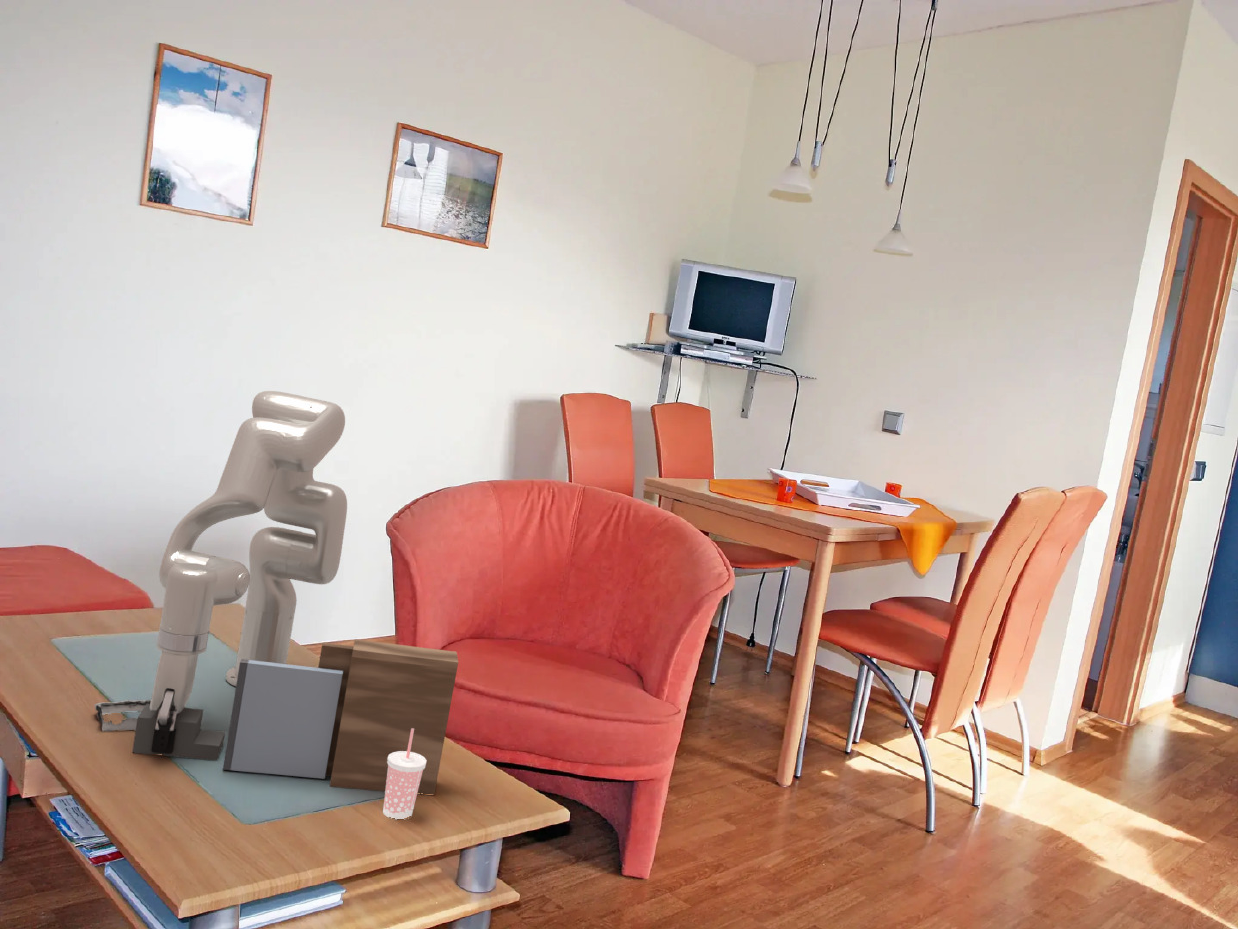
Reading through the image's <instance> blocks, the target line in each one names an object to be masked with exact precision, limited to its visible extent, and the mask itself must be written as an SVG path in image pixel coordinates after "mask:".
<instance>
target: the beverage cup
mask: <svg viewBox="0 0 1238 929" xmlns="http://www.w3.org/2000/svg"><path fill="white" fill-rule="evenodd" d="M413 733H414V728H411V733H410V738H409V744H408V749H407V751H397V752H393V753H391V754H389V756H388V758H387V760H388V761H387V763H388V772H387V780H386V789H385V791H384V798H383V810H382V813H383V815H384V816H386V817H387V818H389V817H391V818H390V819H392V818H395V819H394V820H397V819H404V818H407V817H409V816H411V817H412V816H413V812H414V808H415V803H416V799H417V796H418V794H417V792H418V788H419V784H420V780H421V776H422V772H423V769H425V766H426V762H427V760H426V759H425V757H423V756H422V755H420V754H417V753H414V752H410V750H411V744H412V739H413ZM404 820H405V819H404Z"/></svg>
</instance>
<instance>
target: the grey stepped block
mask: <svg viewBox="0 0 1238 929" xmlns="http://www.w3.org/2000/svg"><path fill="white" fill-rule="evenodd" d="M175 708H176V707H171V709H170V711H175ZM159 709H160V706H159V707H158V709H157V710H154V711H151V710H150V704H146V706H145V707H144V709H143V710H142V711H141V712H140V713H139V714H138V716H137V725H136V730H135V733H134V738H133V739H134V740H133V747H132V751H131V752H134V753H133V754H140V753H142V755H151V754H162V755H167V756H166V757H173V756H174V757H173V758H184V757H185V758H186V757H187V759H194V758H195V760H196V759H197V760H206V761H207V760H208V761H215V762H216V761H218V758H219V757H220V755H221V752H222V749H223V747H224V742H225V736H226V732H225V731H219V730H210V729H209V730H208V729H201V727H202V722H203V716H204V709H199V708H190V707H185V708H183V710H182V711H181V712H180V713H178V715H177V719H176V724H175V729H176V735H175V741H174V748H173V752H172V753H171V754H165V753H154V752H152V751H151V749H152V743H153V736H154V730H155V727H156V722H157V718H158V713H159ZM172 717H173V715H170V714H169V718H171V720H172ZM162 755H161V756H162ZM175 756H176V757H175ZM177 756H178V757H177Z"/></svg>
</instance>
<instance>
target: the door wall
mask: <svg viewBox="0 0 1238 929" xmlns="http://www.w3.org/2000/svg"><path fill="white" fill-rule="evenodd" d="M458 666H459V658H458V652H457V651H454V650H453V651H452V650H444V649H439V648H438V649H435V648H428V647H421V646H419V647H418V646H412V645H405V644H395V643H390V642H389V643H388V642H381V641H371V640H363V639H354V642H353V645H346V644H339V643H338V644H337V643H331V642H322V645H321V650H320V655H319V661H318V667H317V668H323V669H332V670H340V671H343V675H342V680H341V686H340V692H339V698H338V704H337V709H336V715H335V721H334V727H333V733H332V739H331V744H330V750H329V756H328V762H327V768H326V773H325V776H329V777H331V778H330V782H329V787H331V788H333V787H334V788H343V789H344V788H345V789H356V790H363V791H364V790H365V791H375V792H385V789H386V780H387V772H388V763H387V761H388V760H387V758H388V756H389V754H391V753H393V752H397V751H407V749H408V744H409V738H410V733H411V728H414V733H413V739H412V744H411V750H410V752H414V753H417V754H420V755H422V756H423V757H425V759H426V760H427V762H426V766H425V769H423V772H422V776H421V780H420V784H419V788H418V792H417V793H420V794H421V793H423V794H434V795H435V792H436V788H437V781H438V775H439V770H440V765H441V759H442V754H443V750H444V749H443V748H444V743H445V739H446V738H445V737H446V732H447V726H448V720H449V715H450V710H451V706H452V700H453V693H454V689H455V683H456V677H457V671H458ZM420 794H419V795H420Z"/></svg>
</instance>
